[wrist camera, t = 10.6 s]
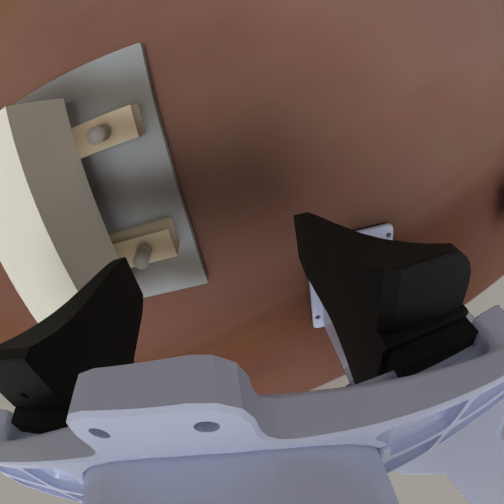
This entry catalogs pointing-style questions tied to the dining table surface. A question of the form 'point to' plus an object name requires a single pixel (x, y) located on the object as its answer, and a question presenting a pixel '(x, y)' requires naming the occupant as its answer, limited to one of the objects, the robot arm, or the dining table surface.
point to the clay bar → (47, 208)
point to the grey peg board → (130, 167)
